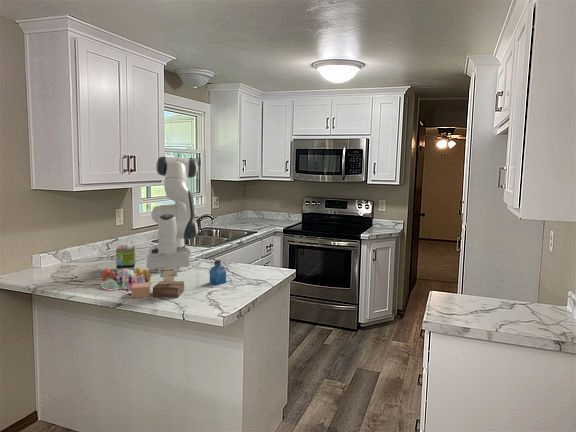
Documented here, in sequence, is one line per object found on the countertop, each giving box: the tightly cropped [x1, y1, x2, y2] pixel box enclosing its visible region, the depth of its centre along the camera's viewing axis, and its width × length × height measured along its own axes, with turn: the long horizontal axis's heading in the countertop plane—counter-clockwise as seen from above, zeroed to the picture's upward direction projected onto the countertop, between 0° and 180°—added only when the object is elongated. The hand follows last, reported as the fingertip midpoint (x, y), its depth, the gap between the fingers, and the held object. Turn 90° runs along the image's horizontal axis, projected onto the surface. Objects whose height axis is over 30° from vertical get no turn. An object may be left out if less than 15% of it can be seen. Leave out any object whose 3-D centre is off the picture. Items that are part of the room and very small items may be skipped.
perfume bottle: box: [209, 259, 227, 286], centre depth 237 cm, size 6×6×12 cm
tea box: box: [115, 244, 137, 275], centre depth 261 cm, size 15×10×15 cm, turn 16°
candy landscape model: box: [101, 267, 153, 291], centre depth 232 cm, size 25×24×9 cm
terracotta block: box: [130, 282, 151, 298], centre depth 214 cm, size 8×8×5 cm
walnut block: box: [152, 280, 185, 299], centre depth 217 cm, size 12×12×5 cm
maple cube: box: [162, 268, 175, 282], centre depth 216 cm, size 5×5×5 cm
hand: (168, 276), depth 216 cm, fingers closed on maple cube, 5 cm apart
